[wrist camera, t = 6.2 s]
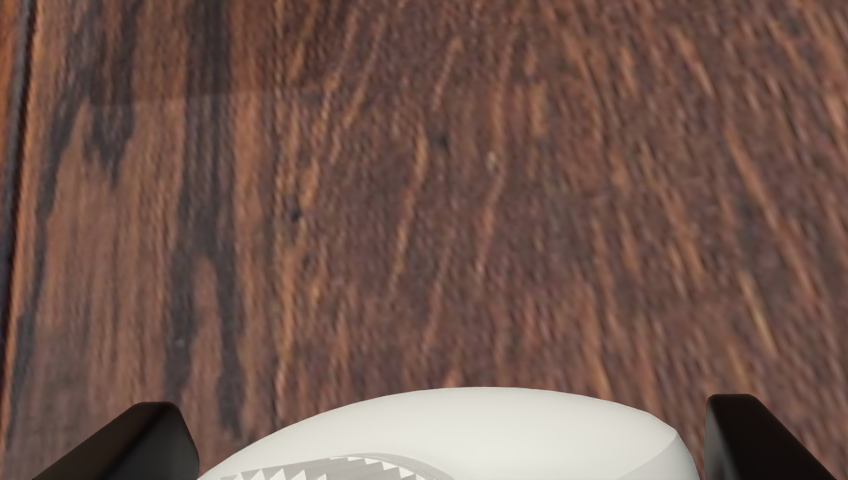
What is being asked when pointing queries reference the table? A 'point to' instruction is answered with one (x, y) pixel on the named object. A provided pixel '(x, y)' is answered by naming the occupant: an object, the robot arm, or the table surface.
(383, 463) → the eye dropper bottle
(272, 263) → the table surface
